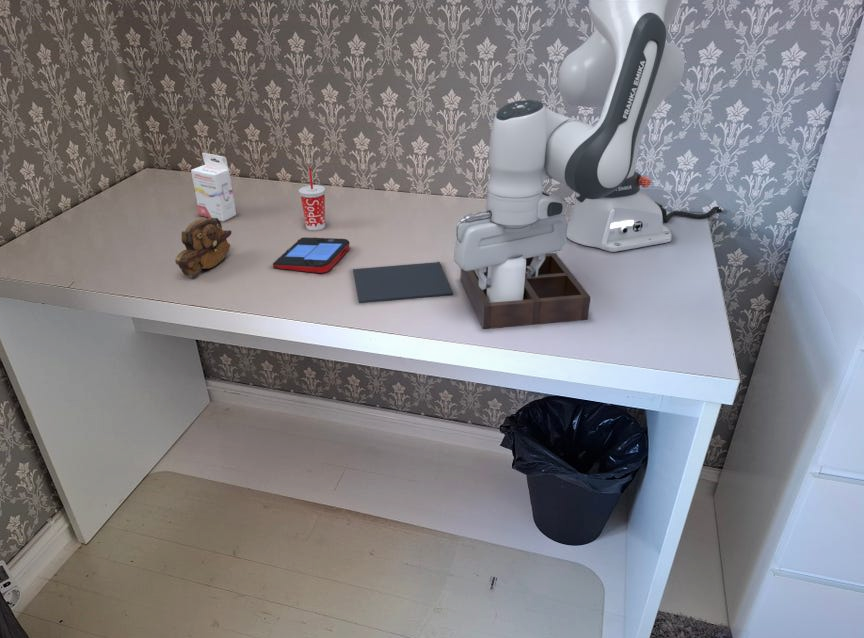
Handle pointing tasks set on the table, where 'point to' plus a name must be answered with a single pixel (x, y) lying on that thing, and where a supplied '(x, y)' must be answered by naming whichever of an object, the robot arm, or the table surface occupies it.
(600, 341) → the table surface
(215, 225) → the wooden carving
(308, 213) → the beverage cup
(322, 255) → the game console
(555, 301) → the crate
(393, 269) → the mat
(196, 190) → the ink cartridge box
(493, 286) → the can
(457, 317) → the table surface
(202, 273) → the table surface
